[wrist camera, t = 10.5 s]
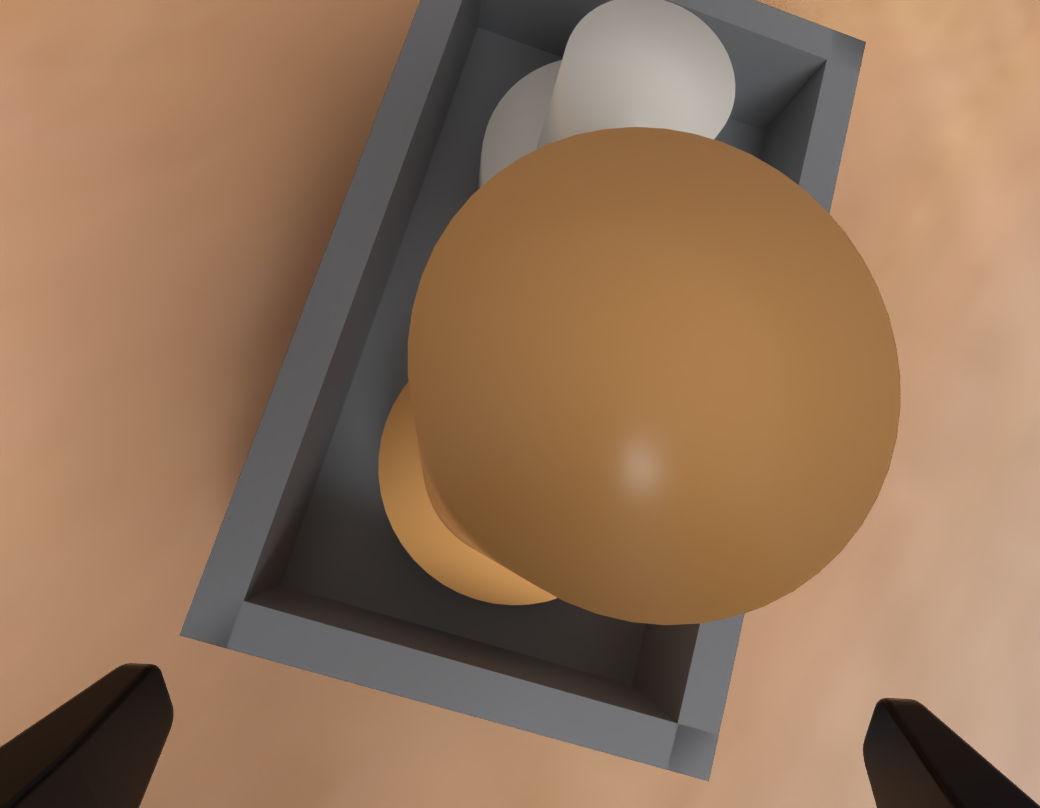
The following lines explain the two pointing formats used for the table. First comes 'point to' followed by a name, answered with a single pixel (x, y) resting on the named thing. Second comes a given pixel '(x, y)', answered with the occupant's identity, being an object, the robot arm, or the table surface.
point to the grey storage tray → (384, 365)
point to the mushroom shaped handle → (640, 385)
